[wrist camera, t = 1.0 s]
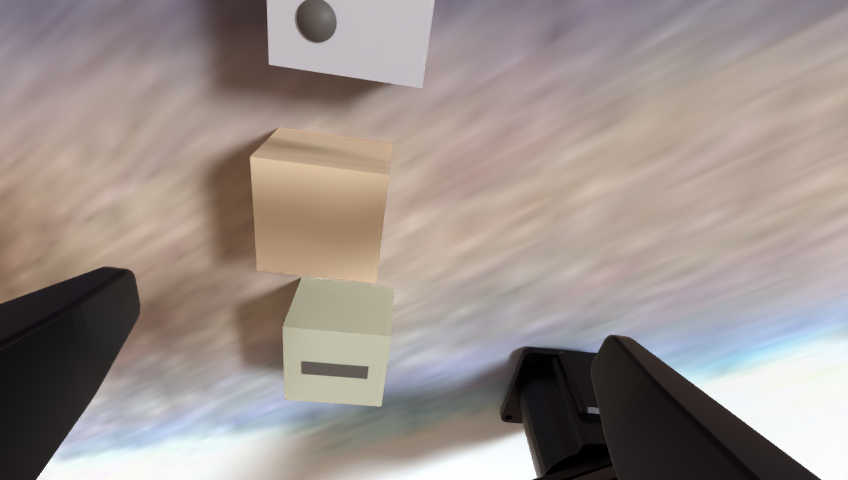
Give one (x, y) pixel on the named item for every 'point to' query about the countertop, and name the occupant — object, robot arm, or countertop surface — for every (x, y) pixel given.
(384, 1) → the white die
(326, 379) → the sage block one
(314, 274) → the birch block
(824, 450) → the countertop surface
